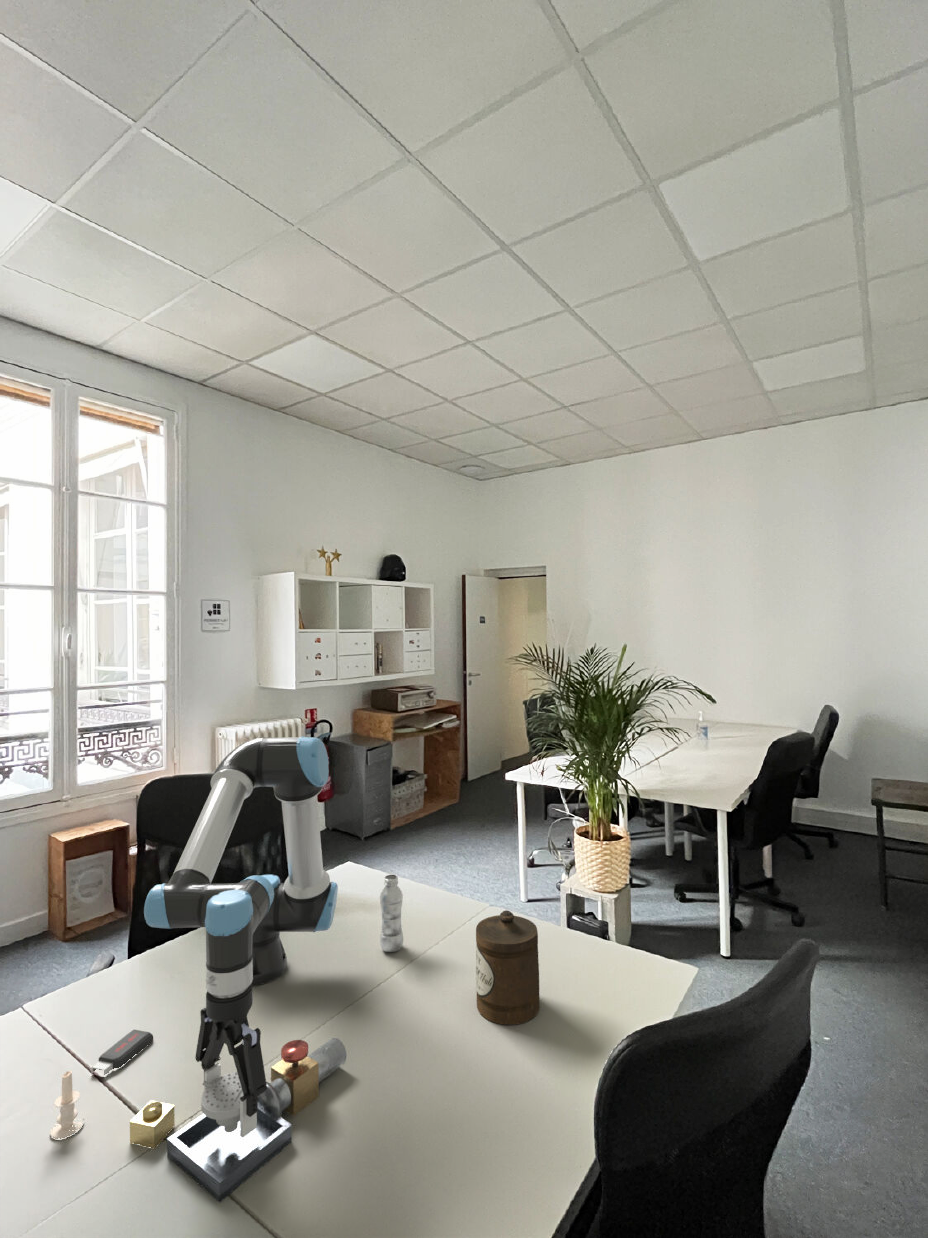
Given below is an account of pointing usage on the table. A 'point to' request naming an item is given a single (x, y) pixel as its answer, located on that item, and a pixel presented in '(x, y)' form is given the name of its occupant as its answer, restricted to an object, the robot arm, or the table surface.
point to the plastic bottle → (391, 915)
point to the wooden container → (507, 969)
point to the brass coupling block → (152, 1124)
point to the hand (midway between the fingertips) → (230, 1118)
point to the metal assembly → (233, 1158)
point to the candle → (66, 1109)
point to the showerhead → (223, 1101)
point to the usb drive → (123, 1050)
